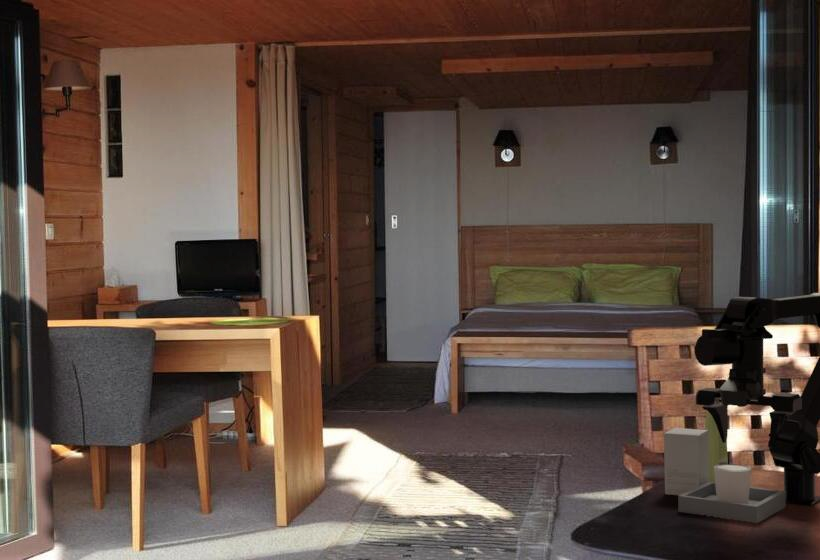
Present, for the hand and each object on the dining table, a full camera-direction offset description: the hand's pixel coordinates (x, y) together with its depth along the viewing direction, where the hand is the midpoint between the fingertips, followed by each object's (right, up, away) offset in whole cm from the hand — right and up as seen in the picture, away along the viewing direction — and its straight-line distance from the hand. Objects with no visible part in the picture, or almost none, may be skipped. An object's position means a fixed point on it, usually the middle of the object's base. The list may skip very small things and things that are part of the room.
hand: (748, 444), depth 201 cm
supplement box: (-8, -12, +13) cm, 20 cm away
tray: (-3, -12, -1) cm, 13 cm away
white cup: (-3, -11, -1) cm, 12 cm away
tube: (+1, -12, +24) cm, 27 cm away
